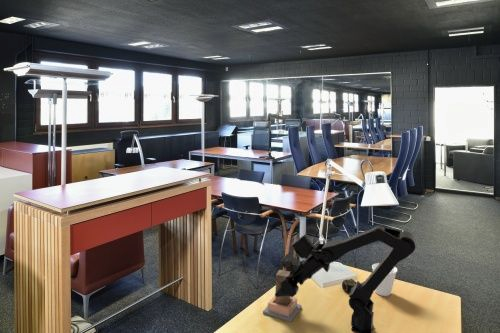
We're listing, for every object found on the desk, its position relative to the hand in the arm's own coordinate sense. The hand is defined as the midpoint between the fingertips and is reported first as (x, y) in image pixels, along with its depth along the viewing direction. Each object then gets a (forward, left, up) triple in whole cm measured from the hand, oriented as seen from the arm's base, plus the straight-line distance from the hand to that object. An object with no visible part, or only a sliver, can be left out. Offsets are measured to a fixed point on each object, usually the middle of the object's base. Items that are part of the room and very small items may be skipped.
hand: (279, 289), depth 141 cm
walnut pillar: (-1, 0, -7) cm, 7 cm away
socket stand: (-1, 0, -8) cm, 8 cm away
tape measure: (-20, -29, -8) cm, 37 cm away
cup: (-32, -33, -8) cm, 47 cm away
